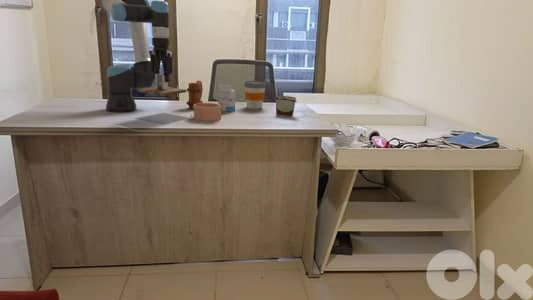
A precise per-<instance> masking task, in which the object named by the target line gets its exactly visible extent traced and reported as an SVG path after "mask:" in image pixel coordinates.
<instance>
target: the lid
mask: <svg viewBox="0 0 533 300" xmlns="http://www.w3.org/2000/svg"><path fill="white" fill-rule="evenodd" d="M163 74H164V73H161V74H157V86H158V88H156V87H150V88H141V89H136V92H138V93H144V94H147V95H148V94H149V95H154V96H160V97H163V96H171V95H176V94H177V95H178V94H182V93H187V89H184V88H178V87H177V88H176V87H172V86H171V87H170V86H168V89H163V78H162V75H163Z"/></svg>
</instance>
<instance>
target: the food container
mask: <svg viewBox="0 0 533 300" xmlns="http://www.w3.org/2000/svg"><path fill="white" fill-rule="evenodd" d="M274 101H275V111H276V112H275V115H276V116H281V115H283V117H288V116H293V117H294V112H295V105H296V103H297V98H296V96H295V97H294V96H290V95H276V96H275V97H274Z"/></svg>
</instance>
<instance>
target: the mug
mask: <svg viewBox="0 0 533 300" xmlns="http://www.w3.org/2000/svg"><path fill="white" fill-rule="evenodd" d="M186 92H188V101H187V102H186V105H187V106H188V108H189V109H191V110H194V104H197V103H204V101H202V95H203V83H202V80H196V81H195V82H189V83H188V87H187V88H186Z"/></svg>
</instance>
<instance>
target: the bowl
mask: <svg viewBox="0 0 533 300" xmlns="http://www.w3.org/2000/svg"><path fill="white" fill-rule="evenodd" d="M193 119H194V120H197V121H200V122H216V121H220V120H221V119H222V111H221V105H220V104H218V103H214V102H203V103H197V104H194V109H193Z"/></svg>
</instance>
